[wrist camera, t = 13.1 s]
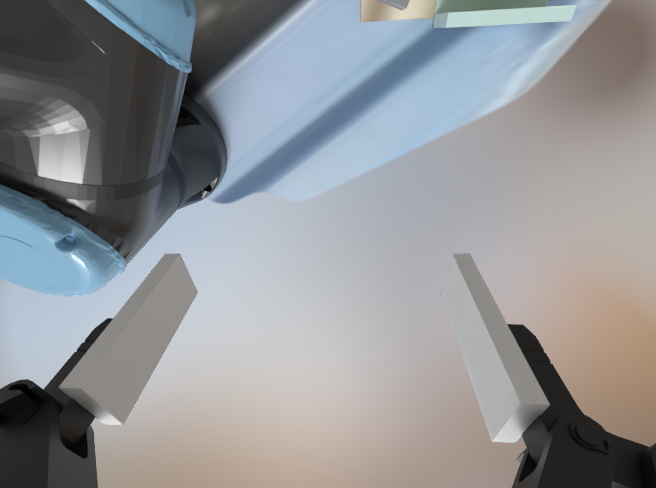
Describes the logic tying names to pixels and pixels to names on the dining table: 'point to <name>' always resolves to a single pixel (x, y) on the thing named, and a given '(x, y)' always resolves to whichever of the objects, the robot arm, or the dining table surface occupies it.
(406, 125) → the dining table surface
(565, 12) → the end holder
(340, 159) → the dining table surface
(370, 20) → the board
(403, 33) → the dining table surface
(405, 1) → the clip
